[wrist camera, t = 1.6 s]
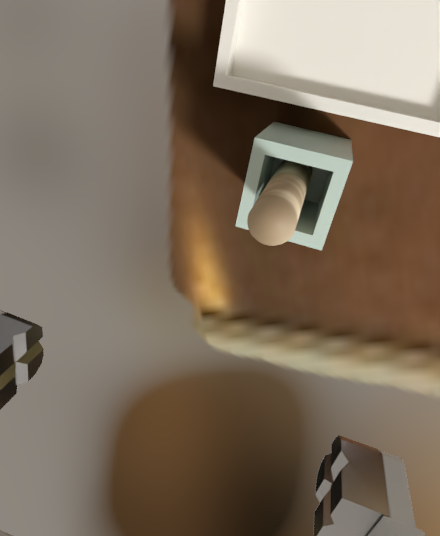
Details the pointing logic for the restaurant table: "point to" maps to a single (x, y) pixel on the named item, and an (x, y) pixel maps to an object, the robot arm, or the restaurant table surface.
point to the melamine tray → (337, 57)
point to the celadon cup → (321, 183)
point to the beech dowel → (280, 204)
